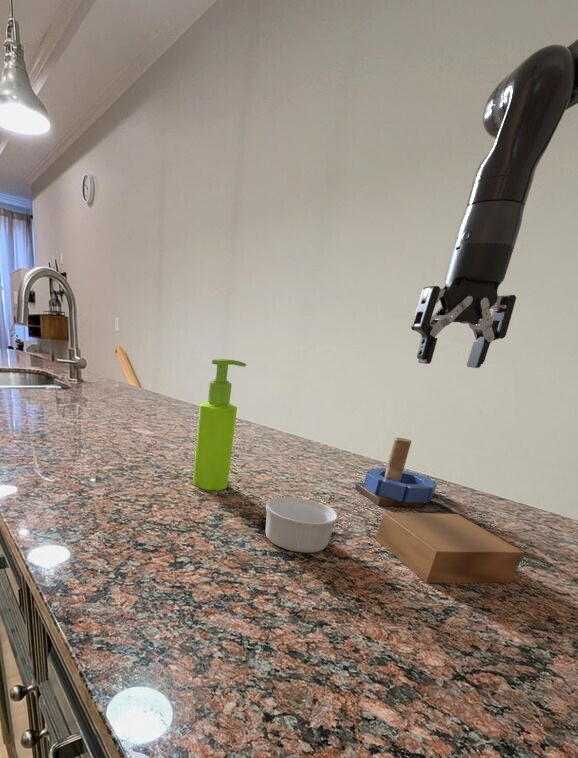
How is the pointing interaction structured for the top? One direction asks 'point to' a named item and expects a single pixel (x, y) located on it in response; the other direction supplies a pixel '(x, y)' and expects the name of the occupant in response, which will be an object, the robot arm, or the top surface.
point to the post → (392, 474)
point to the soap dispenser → (215, 432)
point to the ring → (400, 486)
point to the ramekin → (299, 524)
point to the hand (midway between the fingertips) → (448, 365)
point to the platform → (448, 548)
